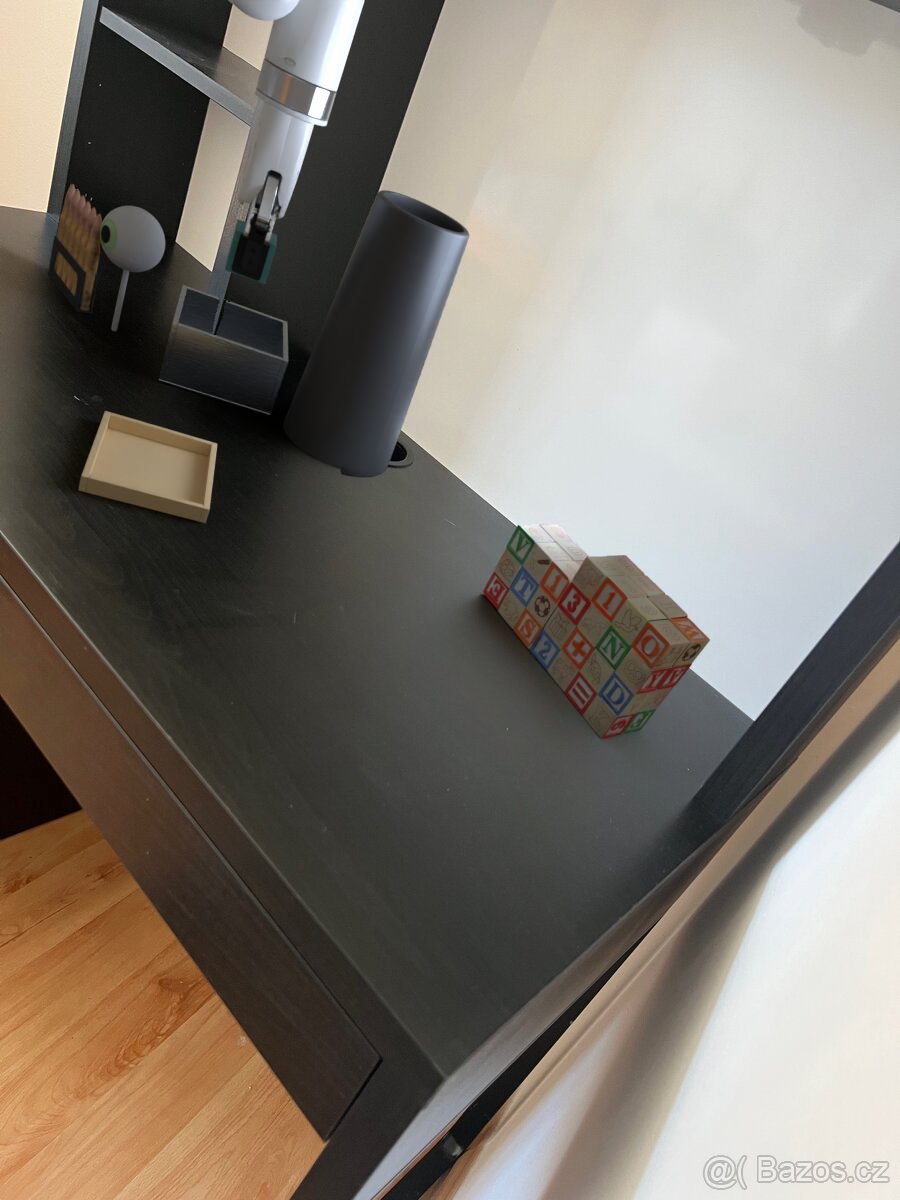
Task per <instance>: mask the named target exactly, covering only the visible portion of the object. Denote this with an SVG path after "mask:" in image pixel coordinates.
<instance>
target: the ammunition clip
mask: <svg viewBox="0 0 900 1200" xmlns="http://www.w3.org/2000/svg"><path fill="white" fill-rule="evenodd" d="M102 222H103V218H102V213H97V209H96V207H92V206H91V202H90V201H89V200H87V201H86V197H85V195H84V194H82V195H81V192H80V190H79V189H76V187H75V184H74V183H71V185H69V187H68V190H67V191H66V195H65V198H64V202H63V206H62V211H61V214H60V217H59V222H58V227H57V234H56V235H54V237H53V242H52V248H51V254H50V260H49V265H48V271H47V274H48V276H49V277H50V279H51V280H52V282H54V284H55V285H56V287H57V288H58V289H59V291H60V292H61V293H62V294H63V296H64V297H65V298H66V299H67V301H68V302H69V303H70V305H71V306H72V308H73V309H74V310H75V311H76V312H77V313H84V314H91V315H92V314H93V310H94V306H95V305H94V304H95V299H96V294H97V293H96V292H97V287H98V280H99V276H100V274H99V273H98V266H99V261H100V256H101V240H100V229H101V225H102Z"/></svg>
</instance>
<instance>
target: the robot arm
mask: <svg viewBox="0 0 900 1200" xmlns="http://www.w3.org/2000/svg"><path fill="white" fill-rule="evenodd" d="M227 1H228V2H229V3H230V4H232V5H233V6H234V7H236V8H237V9H238V10H239V11H240V12H242V13H243V14H244V15H246V16H247V17H250V18H252V19H255V20H259V21H264V22H265V21H267V22H270V21H273V22H272V26H271V30H270V33H269V37H268V41H267V45H266V48H265V54H264V57H263V60H262V63H261V68H260V72H259V76H258V80H257V83H256V88H255V91H254V95H255V96H256V97H257V98H259V99H260V100H262V101H263V104H262V106H261V110H260V113H259V116H258V118H257V121H256V125H255V129H254V132H253V136H252V140H251V143H250V146H249V147H250V148H249V151H248V154H247V158H246V162H245V166H244V169H243V173H242V177H241V182H240V186H239V189H238V194H237V195H238V196H237V200H238V202H239V204H240V205H242V206H244V204H245V203H246V204H248V208H247V211H246V215H245V219H244V220H242V221H243V222H246V226H245V230H244V233H243V234H241V235H240V238H239V242H238V246H237V249H236V253H235V256H234V260H233V264H232V271H233V272H235V273H238V274H240V275H243V276H246V277H248V278H251V279H254V280H257V281H258V280H260V279H261V275H262V272H263V269H264V265H265V262H266V258H267V255H268V252H269V248H270V245H269V241H270V238H271V234H272V233H273V231H274V226H275V223H276V220H280V219H282V218H284V217H285V215H286V212H287V209H288V207H289V203H290V201H291V198H292V196H293V192H294V190H295V187H296V184H297V182H298V178H299V175H300V172H301V170H302V165H303V164H304V163H303V162H304V159H305V157H306V154H307V151H308V147H309V143H310V140H311V136H312V133H313V130H314V126H315V125H316V126H320V127H327V125H328V122H329V118H330V116H331V112H332V109H333V105H334V102H335V98H336V96H337V91H338V88H339V85H340V82H341V78H342V77H343V72H344V69H345V66H346V62H347V59H348V57H349V53H350V49H351V46H352V43H353V40H354V36H355V33H356V30H357V26H358V25H359V21H360V17H361V14H362V10H363V7H364V4H365V0H227ZM250 228H251V229H250Z"/></svg>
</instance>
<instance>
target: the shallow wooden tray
mask: <svg viewBox="0 0 900 1200" xmlns="http://www.w3.org/2000/svg"><path fill="white" fill-rule="evenodd" d="M217 450H218V443H217V442H213V441H210V440H206V439H203V438H200V437H196V436H194V435H189V434H186V433H183V432H180V431H176V430H173V429H168V428H166V427H163V426H159V425H156V424H151V423H149V422H146V421H142V420H139V419H135V418H131V417H128V416H125V415H122V414H121V415H120V414H118V413H114V412H111V411H107V410H104V412H103V415H102V418H101V421H100V424H99V426H98V429H97V432H96V434H95V436H94V439H93V443H92V445H91V448H90V451H89V453H88V457H87V458H86V461H85V465H84V467H83V470H82V472H81V475H80V480H79V483H78V491H80V492H83V493H87V494H91V495H95V496H99V497H101V498H102V497H103V498H107V499H110V500H114V501H119V502H122V503H126V504H130V505H134V506H138V507H141V508H146V509H148V510H153V511H157V512H160V513H165V514H168V515H171V516H172V515H173V516H176V517H181V518H184V519H188V520H191V521H196V522H199V523H203V524H206V523H207V519H208V516H209V514H210V509H211V502H212V501H211V500H212V492H213V484H214V476H215V467H216V459H217V452H218V451H217Z"/></svg>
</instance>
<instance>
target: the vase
mask: <svg viewBox="0 0 900 1200" xmlns="http://www.w3.org/2000/svg"><path fill="white" fill-rule="evenodd" d="M469 239H470V232H469V230H468V228H466V227H465V226H464V225H463V224H461V222H459V221H458V220H456V219H455V218H453V217H452V216H450V215H448V214H446V213H444V212H443V211H441V210H440V209H437V208H435V207H433V206H431V205H429V204H427V203H425V202H423V201H420V200H418V199H416V198H414V197H411V196H409V195H405V194H402V193H400V192H396V191H392V190H386V189H385V190H384V189H383V190H380V191H378V192H377V193H376V195H375V198H374V200H373V202H372V205H371V207H370V209H369V212H368V215H367V217H366V219H365V222H364V225H363V227H362V229H361V232H360V235H359V237H358V239H357V241H356V243H355V246H354V249H353V250H352V252H351V256H350V258H349V261H348V263H347V266H346V269H345V271H344V273H343V275H342V279H341V280H340V282H339V285H338V288H337V290H336V292H335V296H334V298H333V300H332V303H331V305H330V308H329V309H328V312H327V314H326V317H325V319H324V321H323V324H322V328H321V330H320V331H319V333H318V337H317V339H316V341H315V344H314V347H313V349H312V351H311V354H310V356H309V359H308V361H307V363H306V366H305V368H304V370H303V374H302V376H301V377H300V380H299V384H298V385H297V388H296V389H295V390H296V391H295V393H294V395H293V398H292V400H291V403H290V405H289V407H288V410H287V412H286V415H285V417H284V420H283V427H282V428H283V430H284V433H285V435H286V436H287V437H288V439H289V440H290V441H291V442H292V443H293V444H294V445H295V446H296V447H297V448H298V449H300V450H301V451H303V452H304V453H305V454H307V455H308V456H310V457H312V458H313V459H316V460H318V461H319V462H322V463H324V464H325V465H329V466H331V467H333V468H336V469H340V473H341V474H344V475H348V476H355V477H374V476H379V475H381V474H383V473H384V472H385V471H386V470H387V469H388V467H389V463H390V461H391V459H392V456H393V453H394V450H395V447H396V444H397V443H398V439H399V436H400V434H401V431H402V427H403V425H404V423H405V420H406V417H407V414H408V411H409V408H410V405H411V404H412V399H413V397H414V395H415V391H416V389H417V386H418V383H419V380H420V378H421V375H422V371H423V370H424V367H425V363H426V361H427V358H428V356H429V352H430V350H431V348H432V343H433V341H434V339H435V336H436V332H437V329H438V327H439V324H440V321H441V318H442V316H443V312H444V310H445V308H446V304H447V301H448V298H449V297H450V293H451V290H452V287H453V284H454V282H455V279H456V276H457V274H458V271H459V267H460V265H461V262H462V259H463V256H464V254H465V252H466V249H467V246H468V242H469Z"/></svg>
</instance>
